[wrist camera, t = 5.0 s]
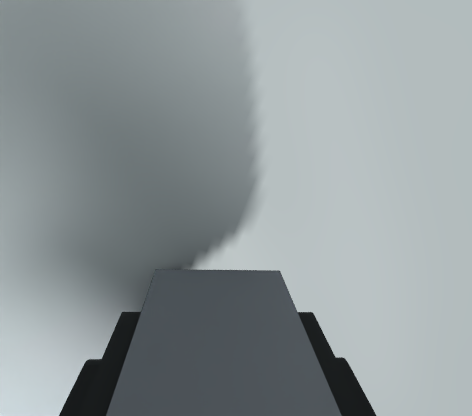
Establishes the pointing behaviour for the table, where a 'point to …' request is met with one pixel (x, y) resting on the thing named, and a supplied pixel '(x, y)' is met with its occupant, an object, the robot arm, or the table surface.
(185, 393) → the block
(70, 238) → the table surface
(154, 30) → the table surface
